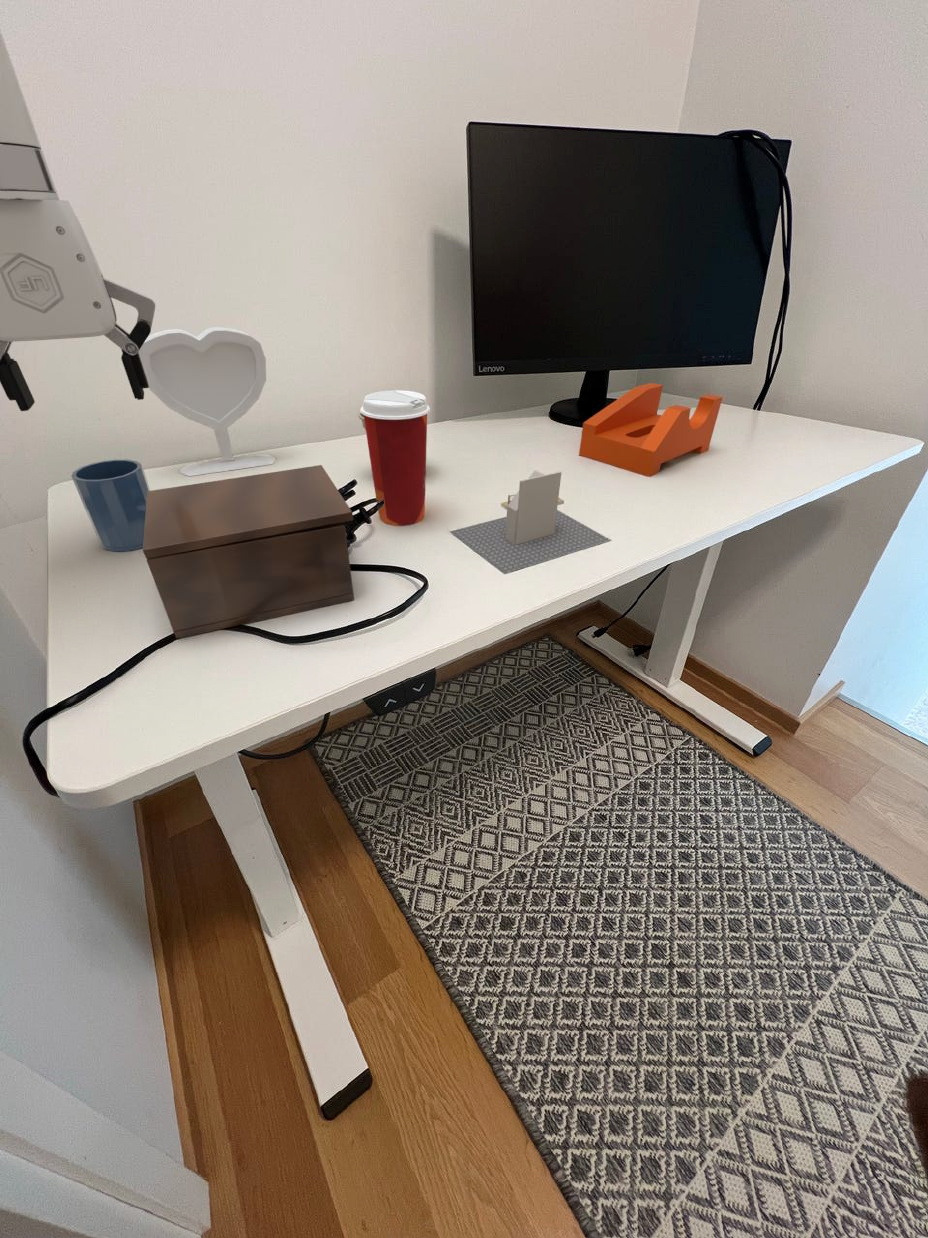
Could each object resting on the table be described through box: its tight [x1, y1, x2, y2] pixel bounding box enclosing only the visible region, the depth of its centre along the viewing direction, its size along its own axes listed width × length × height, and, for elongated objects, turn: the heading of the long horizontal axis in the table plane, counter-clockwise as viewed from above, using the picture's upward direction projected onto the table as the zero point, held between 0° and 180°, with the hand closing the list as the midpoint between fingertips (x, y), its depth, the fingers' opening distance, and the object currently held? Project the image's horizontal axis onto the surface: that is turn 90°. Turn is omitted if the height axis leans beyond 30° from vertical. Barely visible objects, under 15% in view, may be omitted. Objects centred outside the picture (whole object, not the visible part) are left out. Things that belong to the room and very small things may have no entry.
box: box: [146, 522, 355, 640], centre depth 52 cm, size 16×13×8 cm
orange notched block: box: [578, 382, 724, 478], centre depth 85 cm, size 18×13×8 cm
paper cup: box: [359, 389, 431, 526], centre depth 63 cm, size 8×8×14 cm
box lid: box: [142, 464, 354, 560], centre depth 49 cm, size 16×13×1 cm
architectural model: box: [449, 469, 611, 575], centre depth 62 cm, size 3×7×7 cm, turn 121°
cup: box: [71, 459, 151, 552], centre depth 59 cm, size 6×6×8 cm
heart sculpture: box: [138, 326, 277, 477], centre depth 76 cm, size 16×5×18 cm, turn 117°
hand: (85, 401), depth 53 cm, fingers open, 9 cm apart
